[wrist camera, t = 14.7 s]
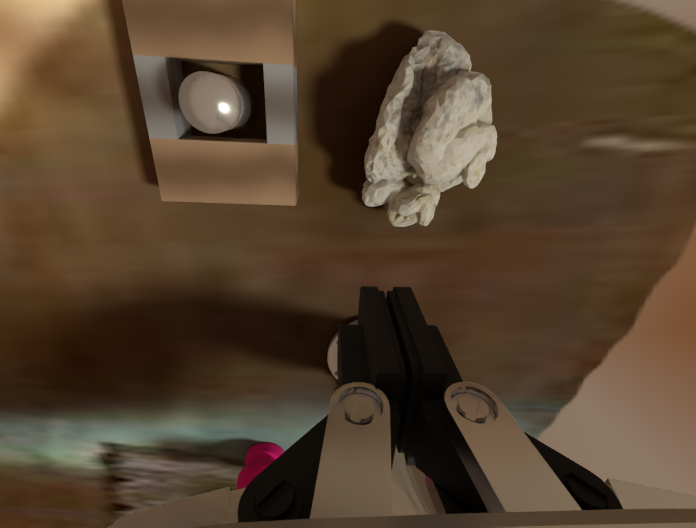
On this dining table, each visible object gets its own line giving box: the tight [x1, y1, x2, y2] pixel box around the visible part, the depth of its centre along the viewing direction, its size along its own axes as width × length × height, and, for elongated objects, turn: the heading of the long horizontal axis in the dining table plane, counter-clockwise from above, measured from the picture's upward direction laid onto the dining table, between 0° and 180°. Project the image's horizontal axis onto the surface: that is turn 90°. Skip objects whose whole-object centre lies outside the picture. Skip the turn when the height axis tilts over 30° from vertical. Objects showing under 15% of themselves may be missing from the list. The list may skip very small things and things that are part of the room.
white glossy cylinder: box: [179, 71, 254, 134], centre depth 29 cm, size 4×4×7 cm
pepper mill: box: [237, 443, 284, 490], centre depth 47 cm, size 7×7×20 cm
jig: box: [122, 0, 299, 206], centre depth 31 cm, size 18×13×4 cm
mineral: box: [362, 30, 497, 227], centre depth 31 cm, size 12×17×10 cm
